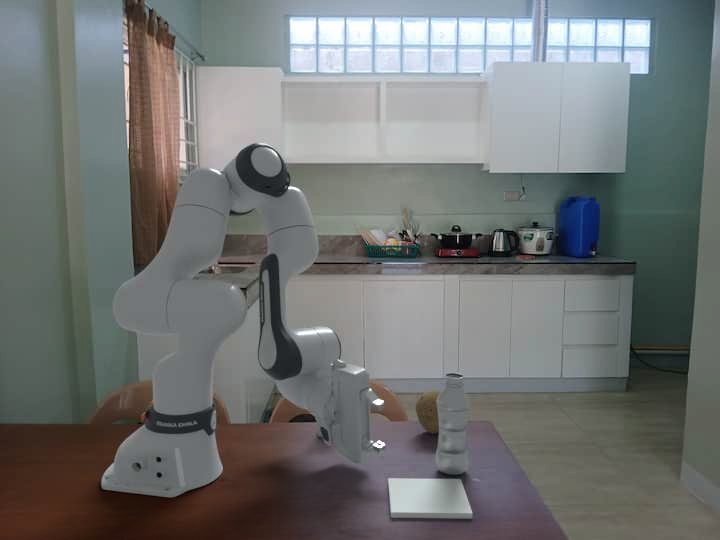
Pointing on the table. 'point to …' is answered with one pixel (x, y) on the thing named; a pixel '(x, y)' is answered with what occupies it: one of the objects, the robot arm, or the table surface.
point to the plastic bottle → (452, 426)
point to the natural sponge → (428, 411)
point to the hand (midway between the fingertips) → (382, 428)
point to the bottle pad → (428, 498)
